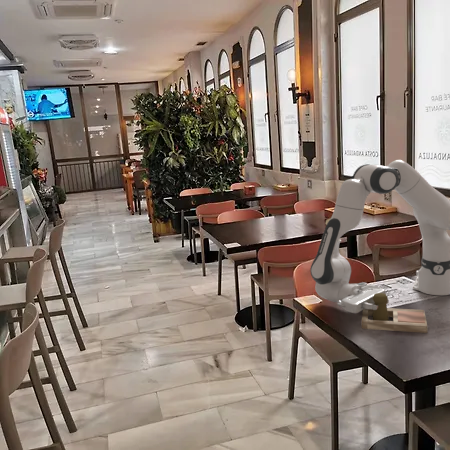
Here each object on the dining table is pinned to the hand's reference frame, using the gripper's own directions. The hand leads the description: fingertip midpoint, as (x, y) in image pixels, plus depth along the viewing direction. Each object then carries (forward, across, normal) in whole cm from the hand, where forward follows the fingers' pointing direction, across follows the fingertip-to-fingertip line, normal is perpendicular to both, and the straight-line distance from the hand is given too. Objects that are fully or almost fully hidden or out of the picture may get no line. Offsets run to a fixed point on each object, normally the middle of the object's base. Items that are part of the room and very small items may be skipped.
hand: (382, 304), depth 167 cm
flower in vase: (-55, +43, +7) cm, 70 cm away
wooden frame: (+3, +2, +7) cm, 8 cm away
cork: (-1, 0, +7) cm, 7 cm away
